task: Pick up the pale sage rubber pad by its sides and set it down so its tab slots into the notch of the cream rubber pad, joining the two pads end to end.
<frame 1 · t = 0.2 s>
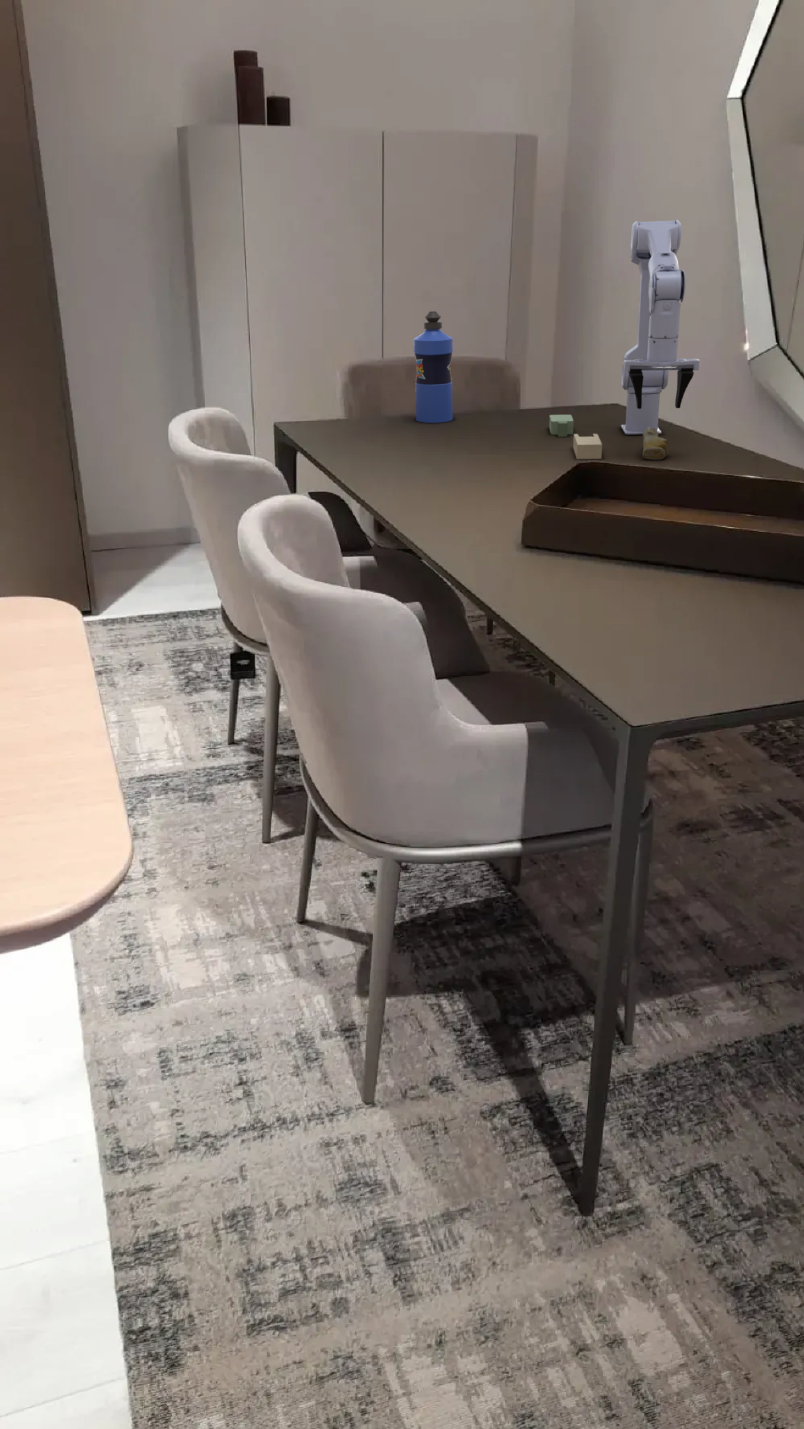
hand: (658, 407, 222), 10 cm above the table, tool pointing down, fingers open, 7 cm apart
sage pad: (560, 431, 254), on the table
water bottle: (434, 420, 271), on the table
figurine: (654, 453, 230), on the table
cream pad: (587, 455, 230), on the table
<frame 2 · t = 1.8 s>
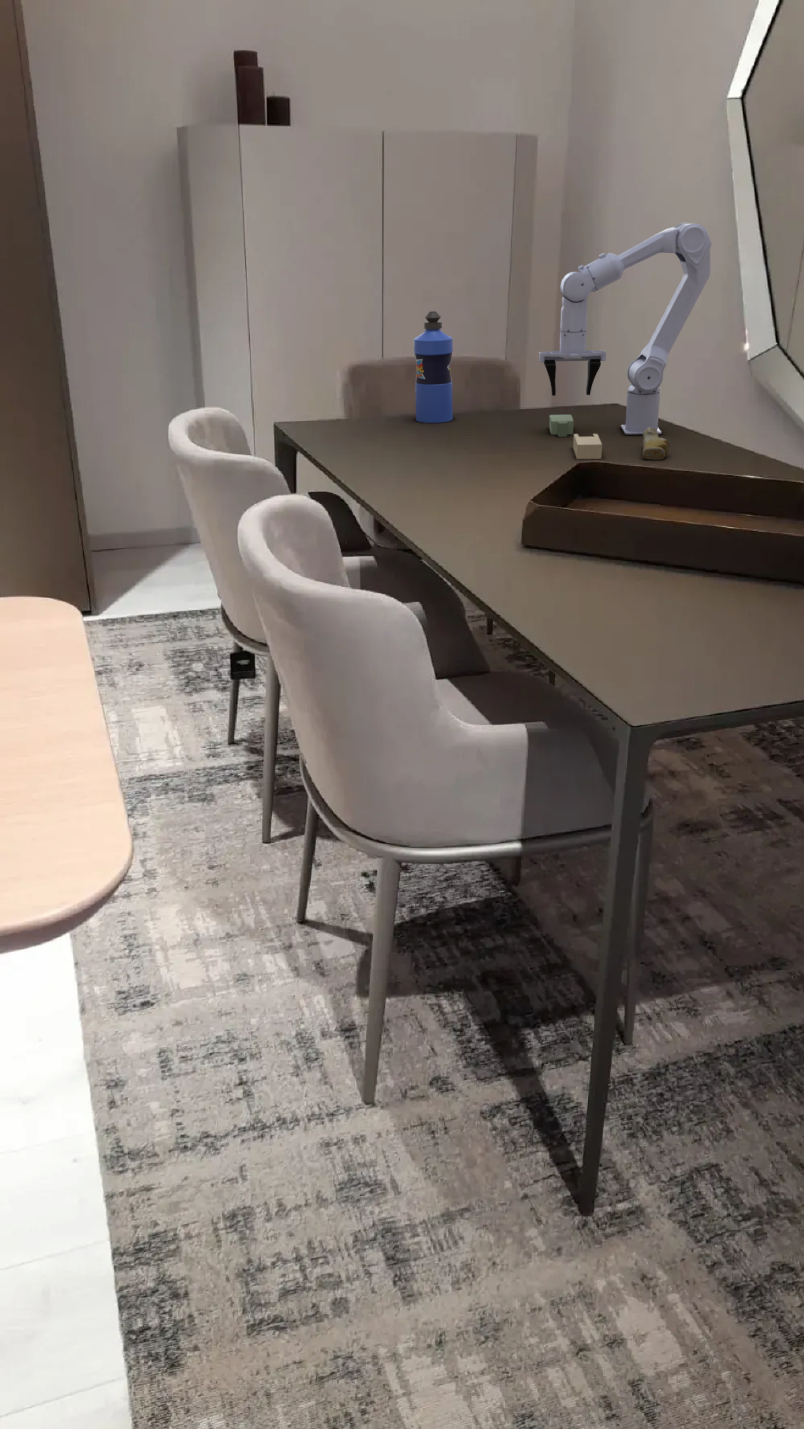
hand: (570, 394, 247), 9 cm above the table, tool pointing down, fingers open, 7 cm apart
nothing on the table moved.
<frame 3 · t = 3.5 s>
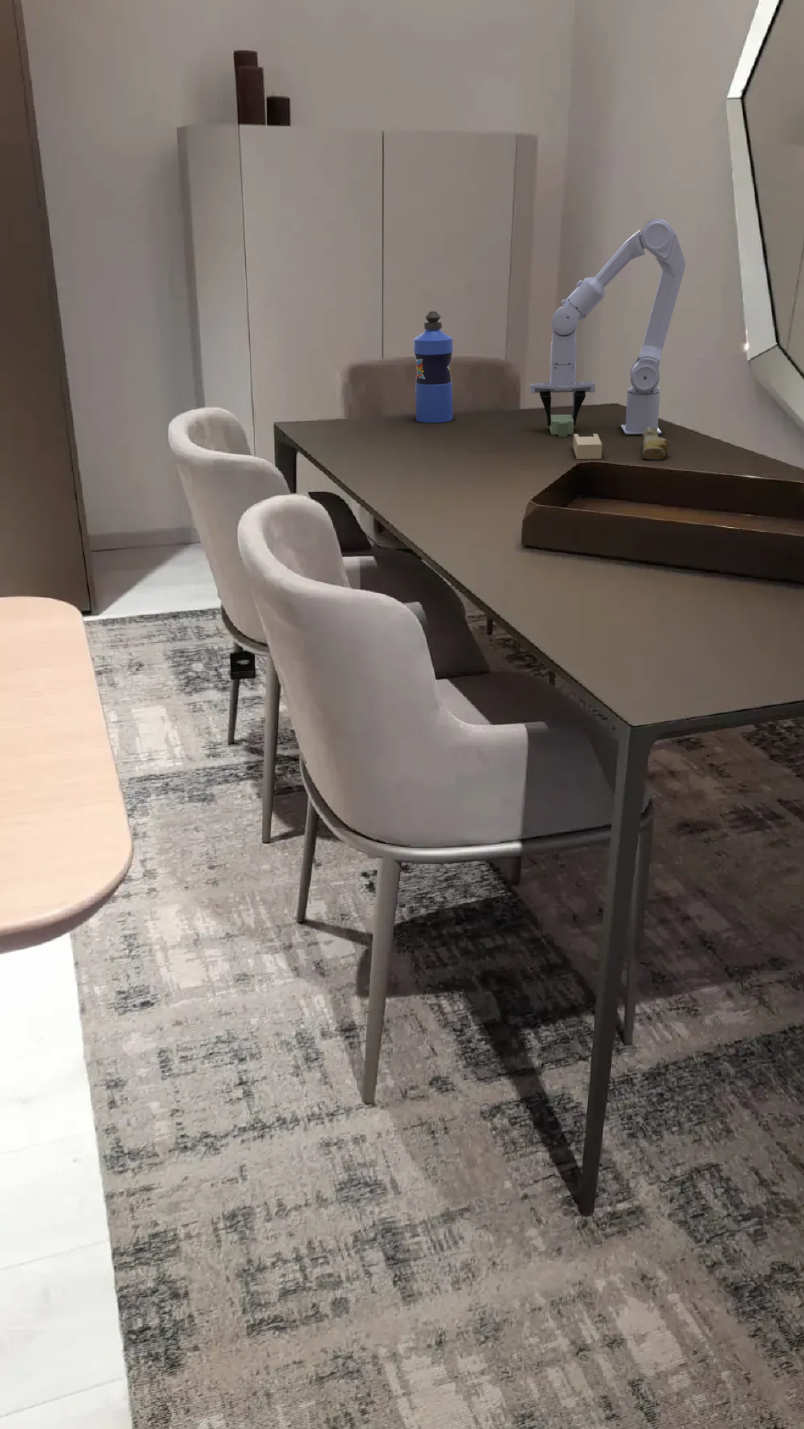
hand: (561, 425, 253), 1 cm above the table, tool pointing down, fingers closed on sage pad, 5 cm apart
sage pad: (561, 431, 254), on the table, touching gripper
everything else where it was.
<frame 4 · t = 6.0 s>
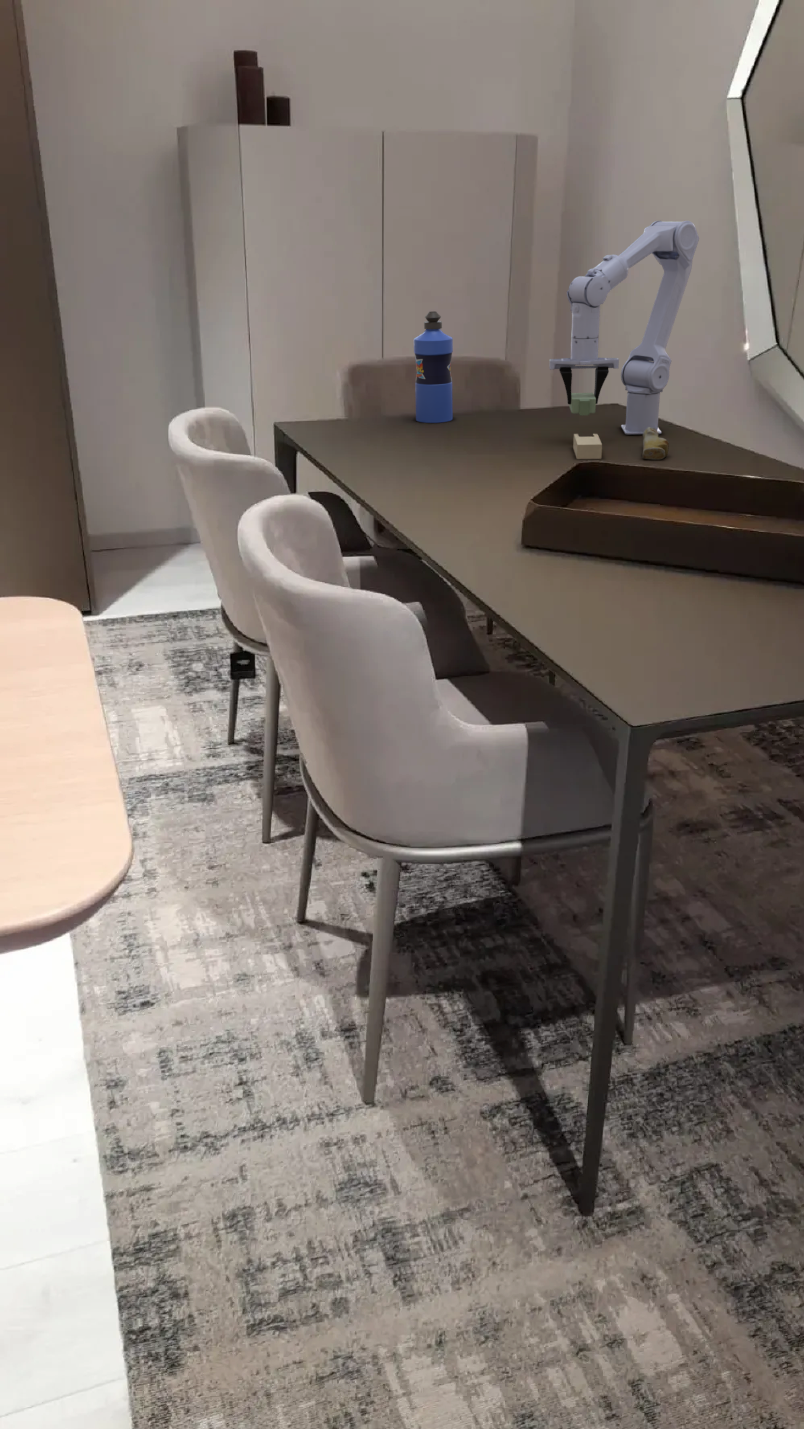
hand: (582, 403, 238), 8 cm above the table, tool pointing down, fingers closed on sage pad, 5 cm apart
sage pad: (582, 410, 239), point 7 cm above the table, touching gripper
everything else where it was.
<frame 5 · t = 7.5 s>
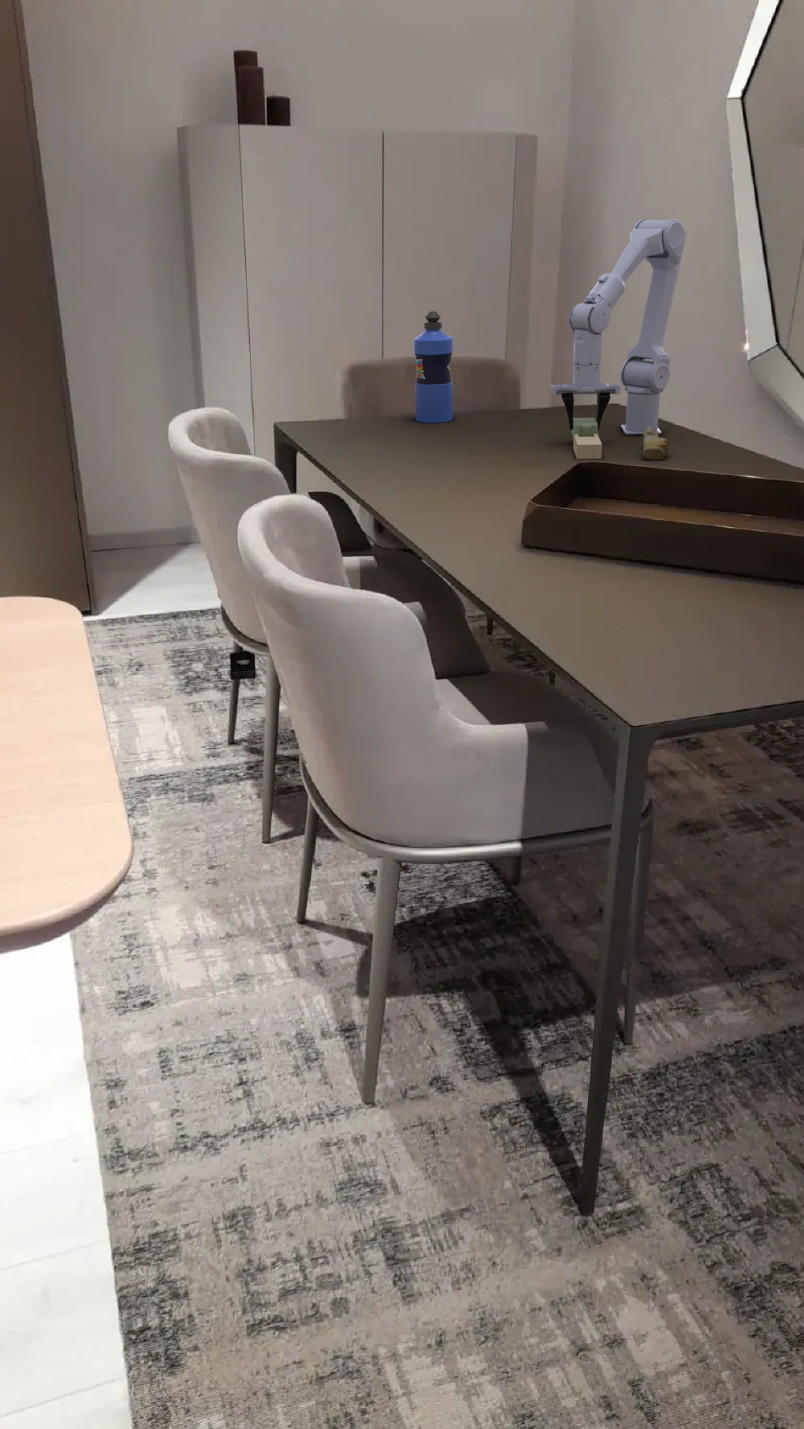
hand: (584, 428, 239), 3 cm above the table, tool pointing down, fingers closed on sage pad, 5 cm apart
sage pad: (583, 435, 239), point 2 cm above the table, touching gripper
everything else where it was.
when the fingers open (1 cm above the table, at t = 8.7 s): sage pad stays where it is, on the table.
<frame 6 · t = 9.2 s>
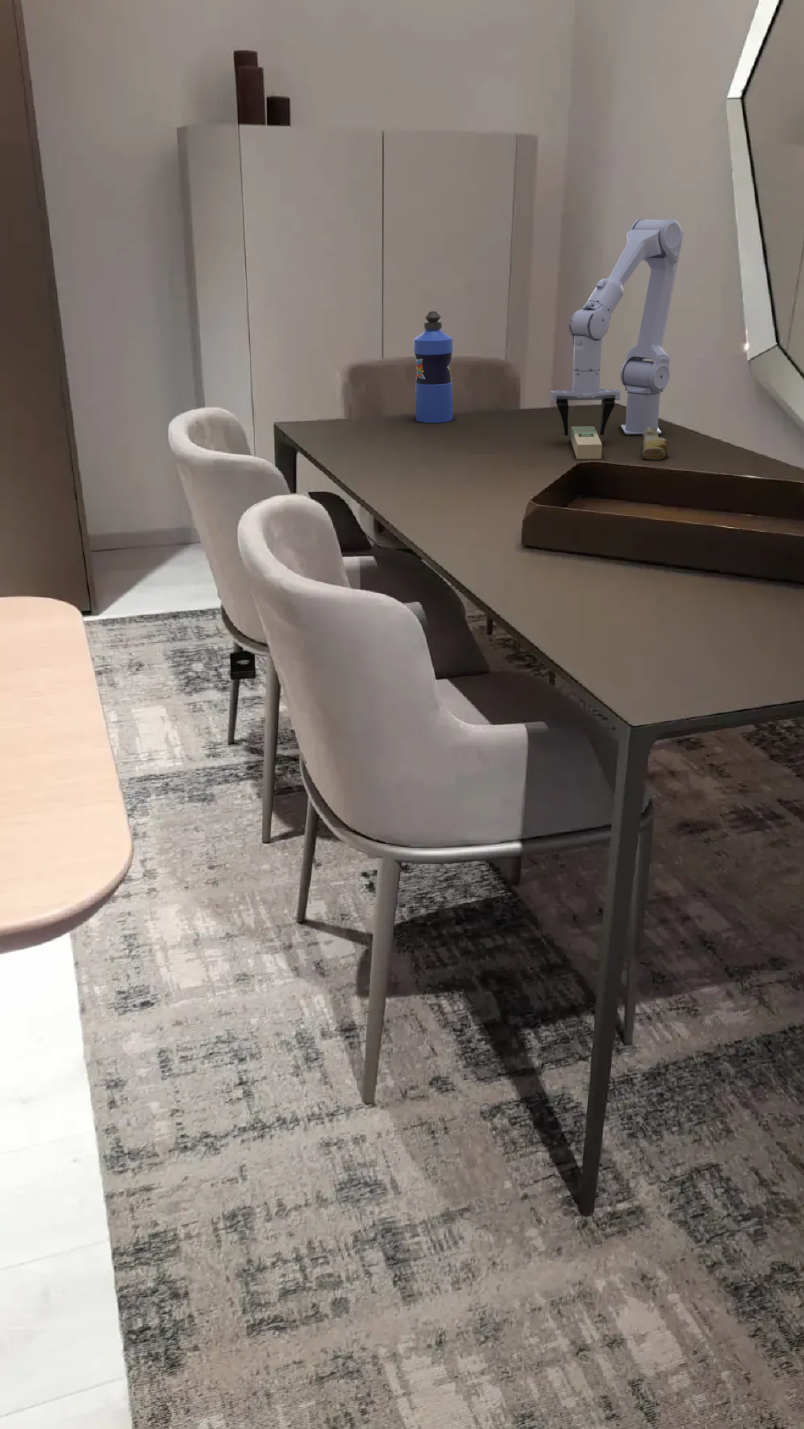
hand: (583, 434, 239), 2 cm above the table, tool pointing down, fingers open, 7 cm apart
sage pad: (583, 444, 240), on the table
everything else where it was.
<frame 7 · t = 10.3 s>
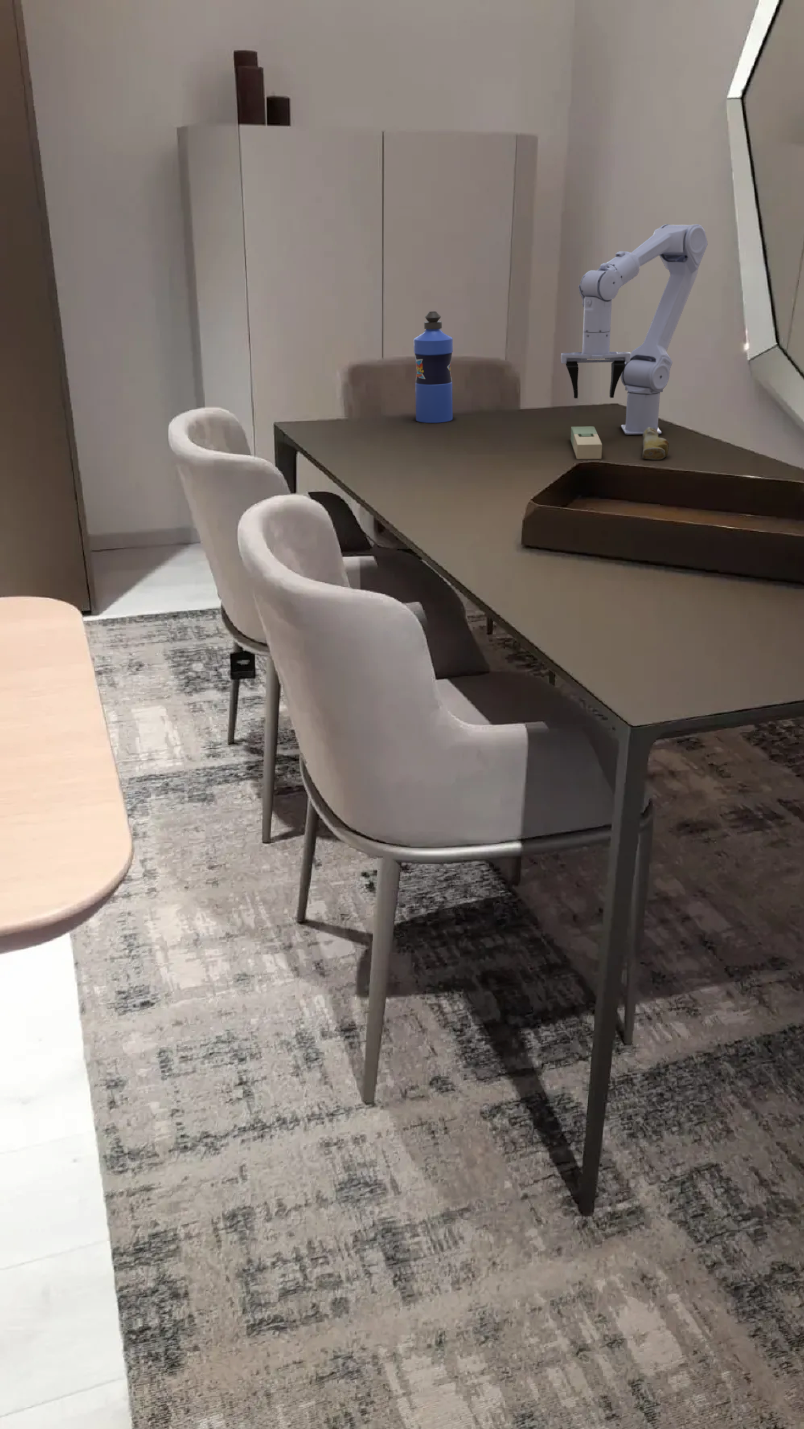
hand: (593, 397, 238), 9 cm above the table, tool pointing down, fingers open, 7 cm apart
nothing on the table moved.
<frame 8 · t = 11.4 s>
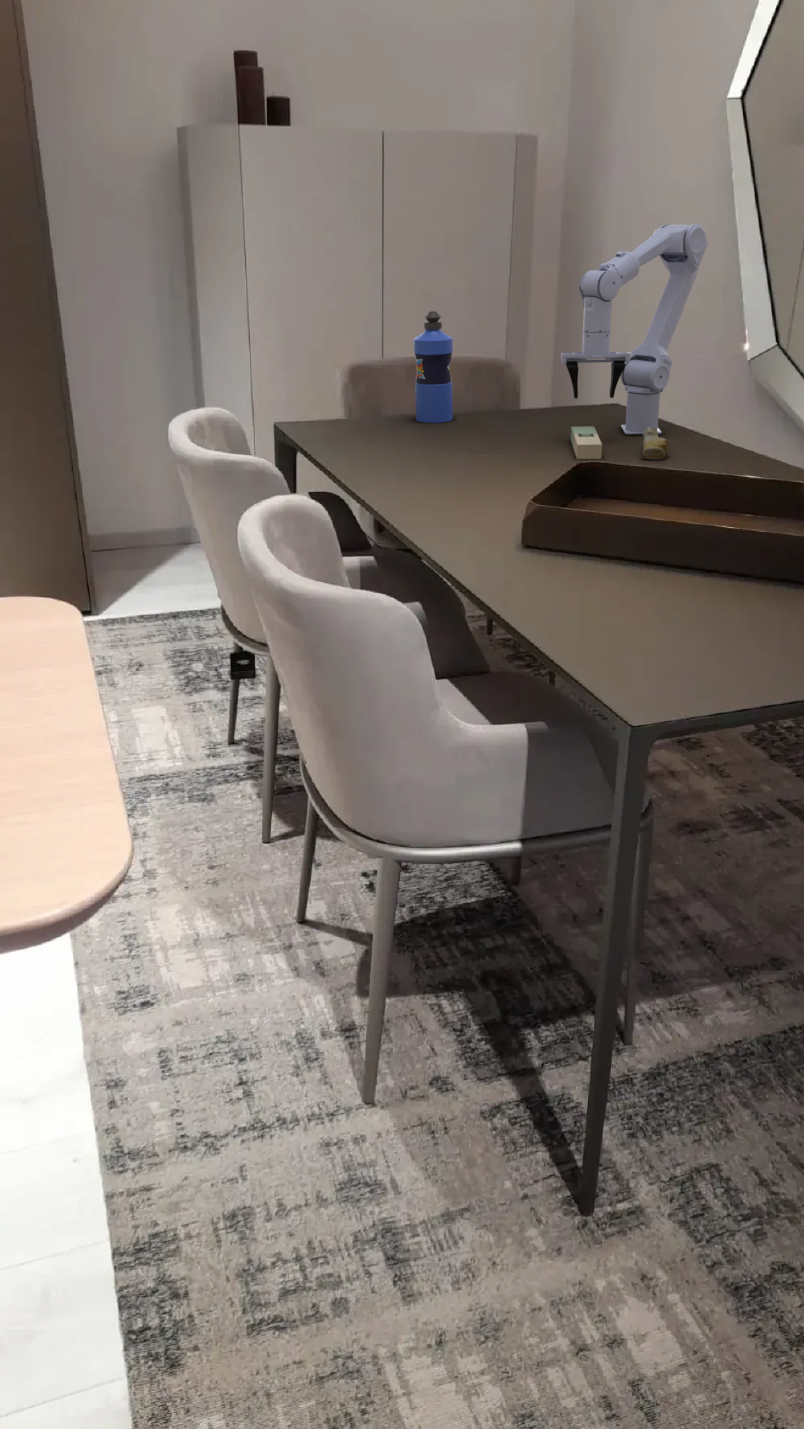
hand: (593, 397, 238), 9 cm above the table, tool pointing down, fingers open, 7 cm apart
nothing on the table moved.
at the end: sage pad 0.1 cm from the target spot on the table beside the cream pad, on the table; sage pad tilted 0°; the gripper is holding nothing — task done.
